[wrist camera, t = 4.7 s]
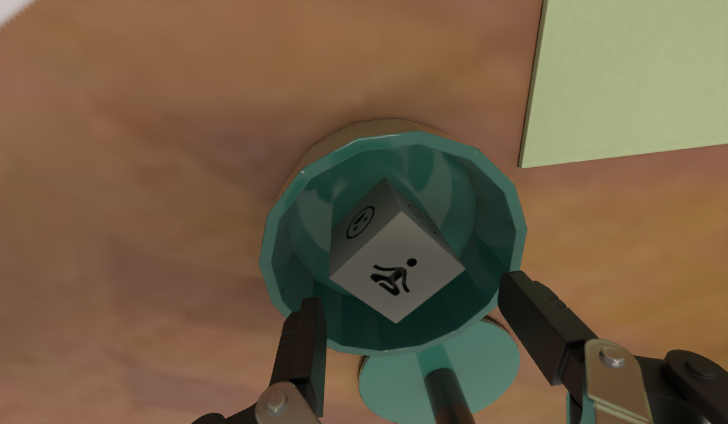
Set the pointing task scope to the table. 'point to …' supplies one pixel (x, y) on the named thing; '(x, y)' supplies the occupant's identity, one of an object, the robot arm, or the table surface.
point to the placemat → (626, 79)
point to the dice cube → (390, 253)
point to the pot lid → (442, 378)
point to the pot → (424, 189)
